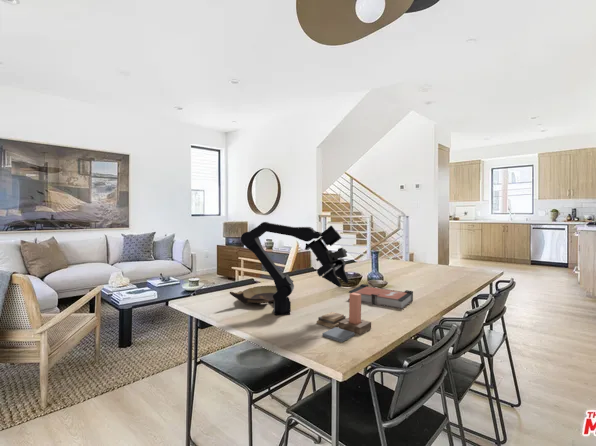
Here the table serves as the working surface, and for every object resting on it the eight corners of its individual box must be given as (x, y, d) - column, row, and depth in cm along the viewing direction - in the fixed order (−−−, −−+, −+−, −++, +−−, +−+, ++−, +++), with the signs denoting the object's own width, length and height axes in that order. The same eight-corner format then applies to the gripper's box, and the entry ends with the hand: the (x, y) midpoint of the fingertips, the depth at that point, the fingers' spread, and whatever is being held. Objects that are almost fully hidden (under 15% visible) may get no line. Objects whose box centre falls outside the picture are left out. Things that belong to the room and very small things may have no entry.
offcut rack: (316, 323, 128) (316, 315, 128) (331, 317, 136) (331, 309, 135) (358, 335, 116) (358, 327, 116) (372, 328, 123) (372, 320, 123)
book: (347, 300, 161) (348, 290, 161) (362, 293, 176) (362, 284, 176) (401, 310, 147) (401, 299, 146) (412, 301, 161) (412, 291, 161)
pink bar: (349, 328, 123) (349, 293, 122) (352, 326, 125) (353, 292, 124) (357, 330, 120) (357, 295, 120) (360, 328, 122) (361, 294, 122)
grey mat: (322, 336, 115) (322, 333, 115) (335, 329, 121) (335, 327, 121) (341, 342, 110) (341, 339, 110) (354, 335, 116) (354, 332, 116)
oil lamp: (296, 304, 153) (296, 288, 153) (231, 312, 142) (231, 294, 141) (280, 293, 174) (280, 278, 173) (222, 298, 162) (222, 283, 162)
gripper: (328, 242, 125) (352, 276, 121) (343, 239, 142) (365, 269, 138) (307, 259, 129) (330, 293, 125) (324, 255, 146) (345, 284, 142)
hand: (344, 284), depth 133 cm, fingers open, 9 cm apart
